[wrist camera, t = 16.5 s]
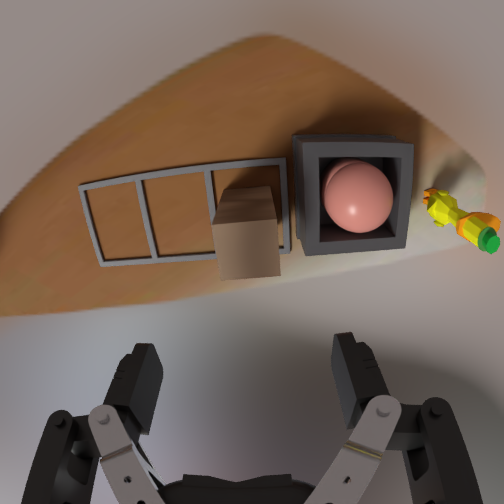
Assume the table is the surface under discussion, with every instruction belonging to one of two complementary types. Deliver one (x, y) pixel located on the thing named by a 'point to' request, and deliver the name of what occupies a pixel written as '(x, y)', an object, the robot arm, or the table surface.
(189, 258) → the frame
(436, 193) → the toy figure
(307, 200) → the housing
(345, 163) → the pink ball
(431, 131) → the table surface
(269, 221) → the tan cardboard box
